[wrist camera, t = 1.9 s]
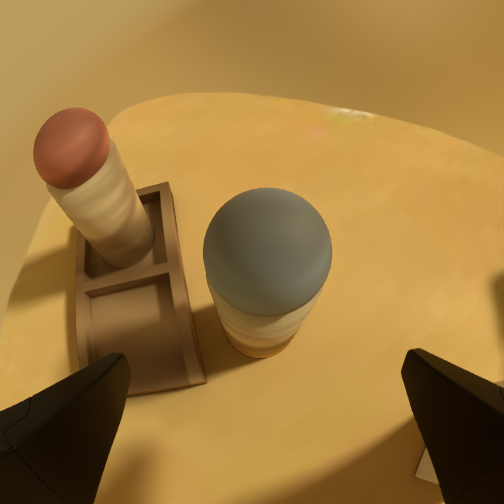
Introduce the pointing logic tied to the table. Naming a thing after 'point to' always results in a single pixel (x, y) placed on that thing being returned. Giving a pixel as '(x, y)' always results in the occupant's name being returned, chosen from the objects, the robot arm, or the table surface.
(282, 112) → the table surface
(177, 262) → the doll tray
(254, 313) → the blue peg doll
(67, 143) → the red peg doll
